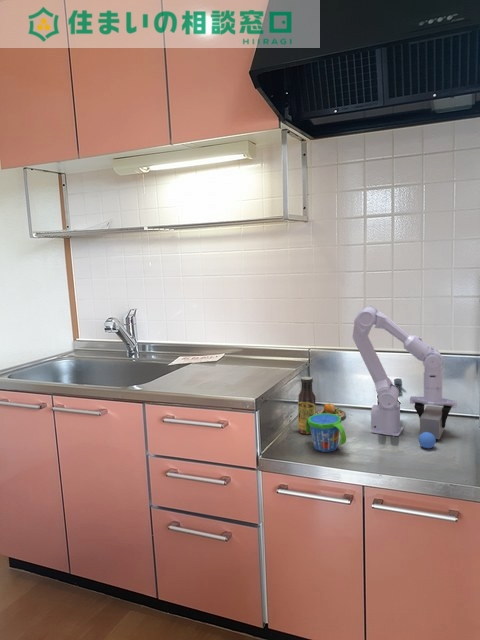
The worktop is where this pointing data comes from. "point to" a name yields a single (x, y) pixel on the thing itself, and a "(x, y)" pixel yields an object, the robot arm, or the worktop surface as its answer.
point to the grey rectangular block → (432, 421)
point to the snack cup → (325, 431)
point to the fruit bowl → (332, 411)
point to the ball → (427, 440)
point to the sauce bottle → (305, 403)
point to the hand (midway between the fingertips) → (433, 425)
